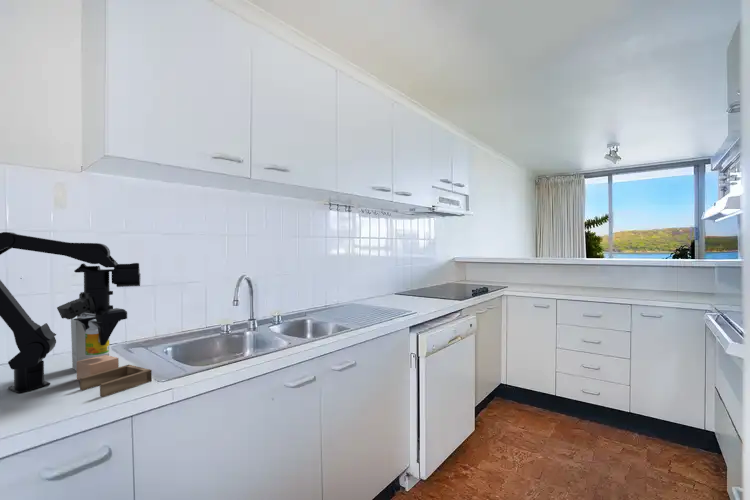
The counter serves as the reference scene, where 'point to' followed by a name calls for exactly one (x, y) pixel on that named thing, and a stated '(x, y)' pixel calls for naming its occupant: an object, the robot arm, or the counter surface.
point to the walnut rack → (116, 379)
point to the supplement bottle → (94, 342)
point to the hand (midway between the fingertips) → (97, 343)
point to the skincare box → (78, 343)
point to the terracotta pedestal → (96, 365)
